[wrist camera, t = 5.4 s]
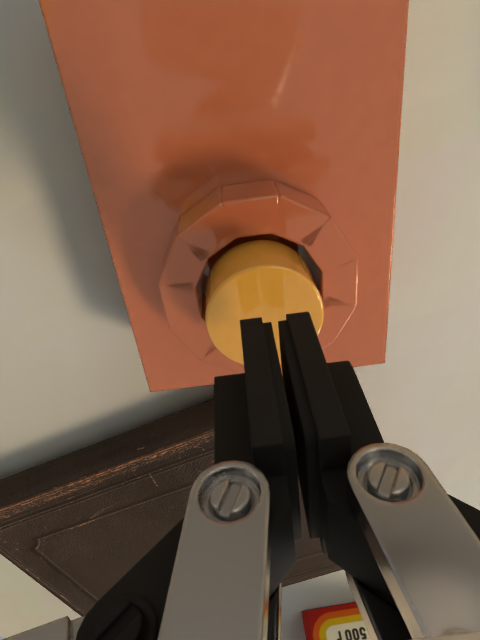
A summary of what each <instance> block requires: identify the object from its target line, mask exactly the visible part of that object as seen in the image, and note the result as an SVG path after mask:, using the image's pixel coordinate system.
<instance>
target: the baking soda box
mask: <svg viewBox="0 0 480 640" xmlns="http://www.w3.org/2000/svg"><path fill="white" fill-rule="evenodd" d="M302 617H303V624H304V630H305V636H306V640H371V639H370V636H369V634H368V631H367V629H366V626H365V624H364V621H363V619H362V616H361V614H360V611H359V609H358V606H357V604H356V602H353V603H347V604H342V605H336V606H330V607H324V608H319V609H313V610H307V611H302Z"/></svg>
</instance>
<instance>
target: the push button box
mask: <svg viewBox="0 0 480 640" xmlns="http://www.w3.org/2000/svg"><path fill="white" fill-rule="evenodd" d="M39 4H40V7H41V11H42V14H43V18H44V21H45V25H46V28H47V32H48V35H49V39H50V42H51V46H52V49H53V53H54V56H55V60H56V63H57V67H58V70H59V74H60V77H61V81H62V84H63V88H64V91H65V95H66V98H67V102H68V105H69V109H70V112H71V116H72V119H73V123H74V126H75V130H76V133H77V137H78V140H79V144H80V148H81V151H82V155H83V158H84V162H85V165H86V169H87V172H88V176H89V179H90V183H91V186H92V190H93V193H94V197H95V200H96V204H97V207H98V211H99V214H100V218H101V221H102V225H103V228H104V232H105V235H106V239H107V242H108V246H109V249H110V253H111V256H112V260H113V263H114V267H115V270H116V274H117V277H118V281H119V284H120V288H121V291H122V295H123V298H124V302H125V305H126V309H127V312H128V316H129V319H130V323H131V326H132V330H133V333H134V337H135V340H136V344H137V347H138V351H139V354H140V358H141V361H142V365H143V368H144V372H145V375H146V379H147V382H148V386H149V389H150V392H155V391H163V390H171V389H179V388H187V387H195V386H203V385H211V384H214V378H215V377H216V376H224V375H232V374H240V373H245V371H244V365H242V364H240V363H237V362H235V361H233V360H231V359H229V358H227V357H226V356H225V355H223V354H222V353H221V352H220V351H219V350H218V349H217V348H216V347H215V345H214V344H213V343H212V341H211V339H210V337H209V335H208V333H207V329H206V323H205V308H206V283H207V278H208V275H209V273H210V271H211V269H212V267H213V265H214V264H215V262H216V261H217V260H218V259H219V258H220V257H221V256H222V255H223V254H224V253H225V252H226V251H228V250H230V249H231V248H233V247H235V246H237V245H239V244H242V243H245V242H249V241H254V240H270V241H275V242H279V243H282V244H284V245H286V246H288V247H290V248H292V249H293V250H295V251H296V252H297V253H298V254H299V255H300V256H301V257H302V258H303V259H304V260H305V262H306V263H307V265H308V267H309V269H310V272H311V274H312V277H313V279H314V281H315V284H316V286H317V288H318V291H319V293H320V295H321V298H322V301H323V305H324V320H323V325H322V327H321V330H320V333H319V335H318V339H319V342H320V345H321V348H322V351H323V354H324V356H325V359H326V362H327V363H331V362H339V361H347V360H348V361H349V362H350V363H351V365H352V367H357V366H365V365H373V364H381V363H385V354H386V339H387V324H388V309H389V294H390V278H391V263H392V248H393V233H394V218H395V202H396V187H397V172H398V157H399V142H400V126H401V111H402V96H403V81H404V66H405V50H406V35H407V20H408V5H409V0H39ZM280 367H281V372H282V365H281V364H280Z"/></svg>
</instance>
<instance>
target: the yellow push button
mask: <svg viewBox="0 0 480 640" xmlns="http://www.w3.org/2000/svg"><path fill="white" fill-rule="evenodd" d="M307 311H308V312H309V313H310V316H311V319H312V322H313V325H314V327H315V330H316V333H317V336H318V335H319V333H320V330H321V327H322V325H323V320H324V305H323V301H322V298H321V295H320V293H319V291H318V288H317V286H316V284H315V281H314V279H313V277H312V274H311V272H310V269H309V267H308V265H307V263H306V262H305V260H304V259H303V258H302V257H301V256H300V255H299V254H298V253H297V252H296V251H295V250H293V249H292V248H290V247H288V246H286V245H284V244H282V243H279V242H275V241H270V240H254V241H249V242H245V243H242V244H239V245H237V246H235V247H233V248H231V249H230V250H228V251H226V252H225V253H224V254H223V255H222V256H221V257H220V258H219V259H218V260H217V261H216V262H215V264H214V265H213V267H212V269H211V271H210V273H209V275H208V278H207V283H206V308H205V323H206V329H207V333H208V335H209V337H210V339H211V341H212V343H213V344H214V345H215V347H216V348H217V349H218V350H219V351H220V352H221V353H222V354H223V355H225V356H226V357H227V358H229V359H231V360H233V361H235V362H237V363H240V364H242V365H244V360H243V350H242V339H241V328H240V320H243V319H251V318H259V317H262V321H263V323H267V322H271V323H272V328H273V333H274V338H275V343H276V348H277V352H278V357H279V362H280V364H281V353H280V341H279V329H278V321H283V320H286V314H291V313H299V312H307Z"/></svg>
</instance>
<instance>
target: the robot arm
mask: <svg viewBox="0 0 480 640" xmlns="http://www.w3.org/2000/svg"><path fill="white" fill-rule="evenodd" d="M240 328H241V339H242V350H243V360H244V371H245V373H240V374H232V375H224V376H216V377H215V378H214V465H212V466H210V467H209V468H208V469H206V470H205V471H203V472H202V473H201V474H200V475H199V476H198V478H197V479H196V480H195V481H194V483H193V486H192V488H191V491H190V494H189V499H188V504H187V508H186V513H185V517H184V518H183V519H182V520H181V521H180V522H179V523H178V524H177V525H176V526H174V527H173V528H172V529H171V530H170V531H169V532H168V533H167V534H166V535H165V536H164V537H163V538H162V539H161V540H160V541H159V542H158V543H157V544H156V545H155V546H154V547H153V548H152V549H151V550H150V551H149V552H148V553H147V554H146V555H145V556H144V557H143V558H142V559H141V560H140V561H138V562H137V563H136V564H135V565H134V566H133V567H132V568H131V569H130V570H129V571H128V572H127V573H126V574H125V575H124V576H123V577H122V578H121V579H120V580H119V581H118V582H117V583H116V584H115V585H114V586H113V587H112V588H111V589H110V590H109V591H108V592H107V593H106V594H105V595H103V596H102V597H101V598H100V599H99V600H98V601H97V602H96V603H95V605H94V606H93V607H92V608H91V609H90V611H89V612H88V613H87V614H86V616H83V617H80V618H77V619H75V620H72V621H71V620H70V619H69V617H68V616H66V617H63V618H61V619H58V620H55V621H52V622H49V623H47V624H44V625H41V626H38V627H36V628H33V629H30V630H27V631H25V632H22V633H19V634H16V635H13V636H11V637H8V638H5V639H2V640H281V602H282V587H281V582H282V581H283V579H284V578H285V577H286V575H287V574H288V573H289V571H290V570H291V569H292V567H293V566H294V565H295V564H296V554H295V542H294V541H299V540H302V528H301V514H300V500H299V485H300V490H301V495H302V500H303V506H304V511H305V516H306V521H307V526H308V532H309V536H310V539H316V538H320V543H321V548H322V553H323V554H328V559H329V560H331V561H332V562H334V563H335V564H336V565H338V566H339V567H341V568H342V569H343V570H345V572H346V577H347V581H348V584H349V586H350V589H351V591H352V594H353V596H354V599H355V601H356V604H357V606H358V609H359V611H360V614H361V616H362V619H363V621H364V624H365V626H366V629H367V631H368V634H369V636H370V639H371V640H480V511H479V510H478V509H476V508H474V507H472V506H470V505H468V504H466V503H464V502H462V501H460V500H458V499H456V498H454V497H452V496H450V495H448V494H447V493H446V491H445V490H444V488H443V487H442V486H441V484H440V483H439V481H438V480H437V478H436V477H435V476H434V474H433V473H432V471H431V470H430V468H429V467H428V466H427V464H426V463H425V462H424V461H423V460H422V459H421V458H420V457H419V456H418V455H417V454H415V453H414V452H412V451H411V450H409V449H407V448H405V447H402V446H399V445H396V444H389V443H384V441H383V439H382V436H381V434H380V431H379V429H378V427H377V424H376V422H375V420H374V417H373V415H372V412H371V410H370V408H369V405H368V403H367V400H366V398H365V396H364V393H363V391H362V388H361V386H360V384H359V381H358V379H357V376H356V374H355V372H354V369H353V367H352V365H351V363H350V362H349V361H348V360H347V361H339V362H331V363H327V362H326V359H325V356H324V354H323V351H322V348H321V345H320V342H319V339H318V336H317V333H316V330H315V327H314V325H313V322H312V319H311V316H310V313H309V312H308V311H307V312H299V313H291V314H286V320H283V321H278V329H279V341H280V353H281V365H282V372H281V367H280V362H279V357H278V352H277V348H276V343H275V338H274V333H273V328H272V323H271V322H267V323H263V321H262V317H259V318H251V319H243V320H240ZM298 480H299V485H298Z"/></svg>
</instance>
